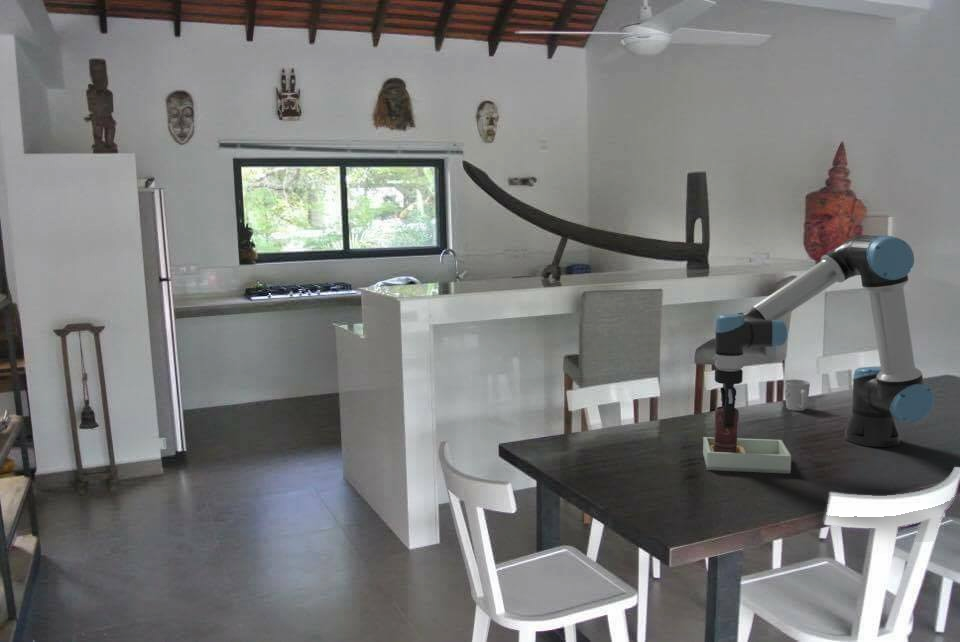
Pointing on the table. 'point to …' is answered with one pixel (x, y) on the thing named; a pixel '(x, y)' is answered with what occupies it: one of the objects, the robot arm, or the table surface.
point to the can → (725, 432)
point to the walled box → (749, 456)
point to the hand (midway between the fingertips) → (726, 448)
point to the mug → (796, 394)
